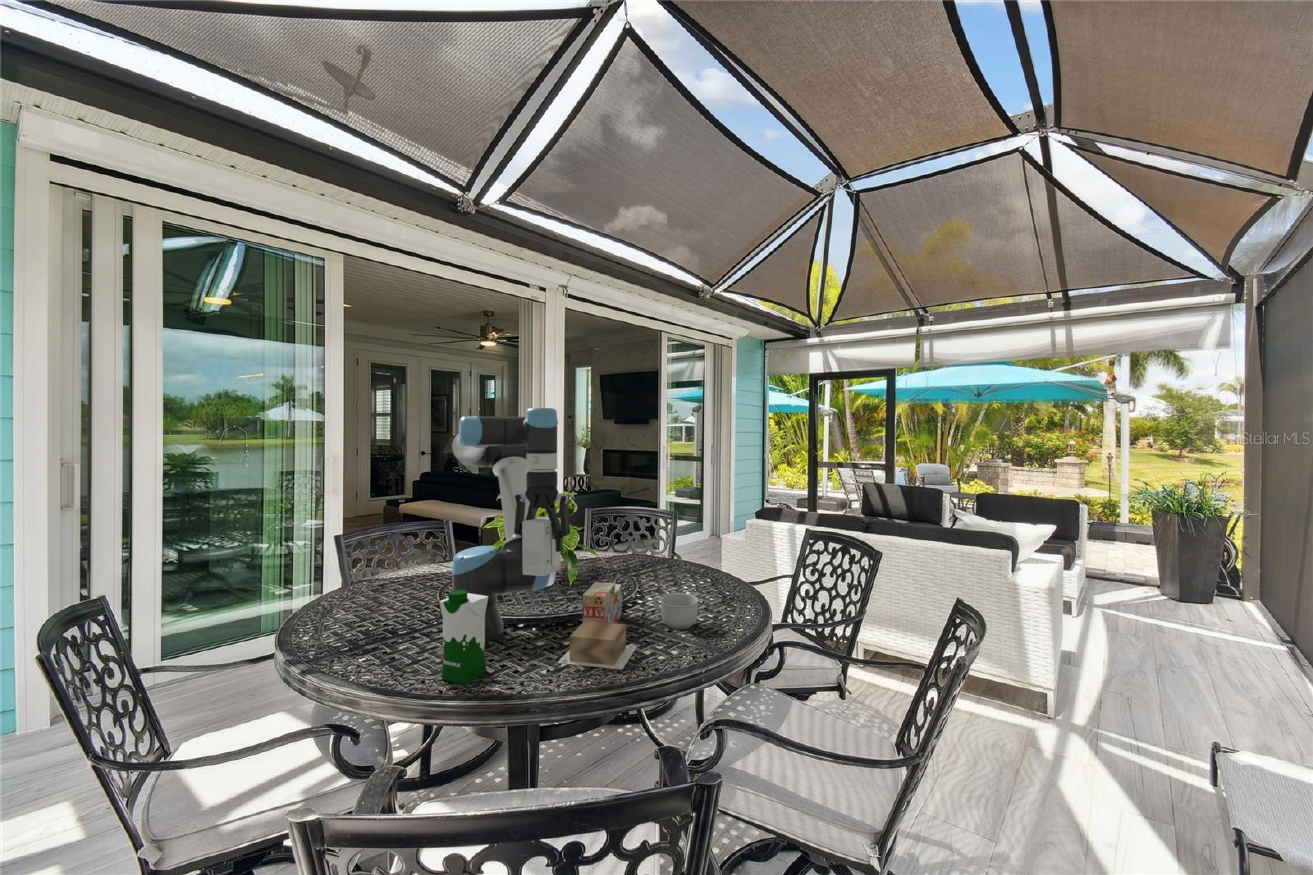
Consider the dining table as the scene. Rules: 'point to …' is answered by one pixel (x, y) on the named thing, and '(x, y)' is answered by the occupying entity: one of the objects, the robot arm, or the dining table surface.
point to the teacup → (678, 610)
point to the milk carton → (463, 636)
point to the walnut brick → (598, 642)
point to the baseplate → (617, 665)
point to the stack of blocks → (602, 603)
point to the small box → (538, 547)
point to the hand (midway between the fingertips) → (542, 563)
